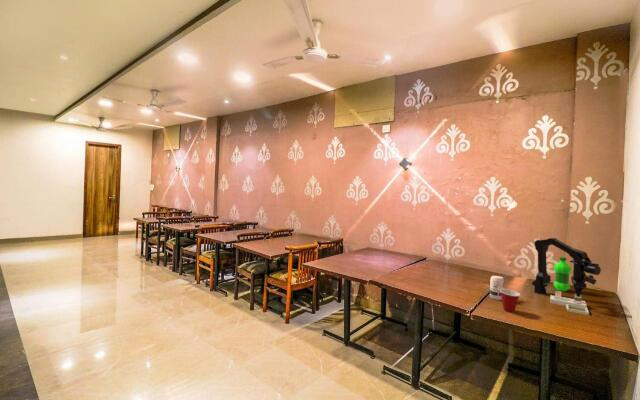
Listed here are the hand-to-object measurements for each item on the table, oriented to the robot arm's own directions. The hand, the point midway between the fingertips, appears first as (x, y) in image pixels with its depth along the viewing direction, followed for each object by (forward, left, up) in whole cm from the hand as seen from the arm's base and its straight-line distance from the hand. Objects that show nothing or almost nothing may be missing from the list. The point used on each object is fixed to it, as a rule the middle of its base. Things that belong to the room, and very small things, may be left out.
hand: (577, 294), depth 196 cm
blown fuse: (0, 0, -7) cm, 7 cm away
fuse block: (-5, 0, -8) cm, 10 cm away
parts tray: (-1, -11, -8) cm, 13 cm away
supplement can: (-44, -15, -9) cm, 47 cm away
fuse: (-10, 0, -7) cm, 12 cm away
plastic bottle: (-6, +37, -8) cm, 38 cm away
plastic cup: (-35, -35, -8) cm, 50 cm away
